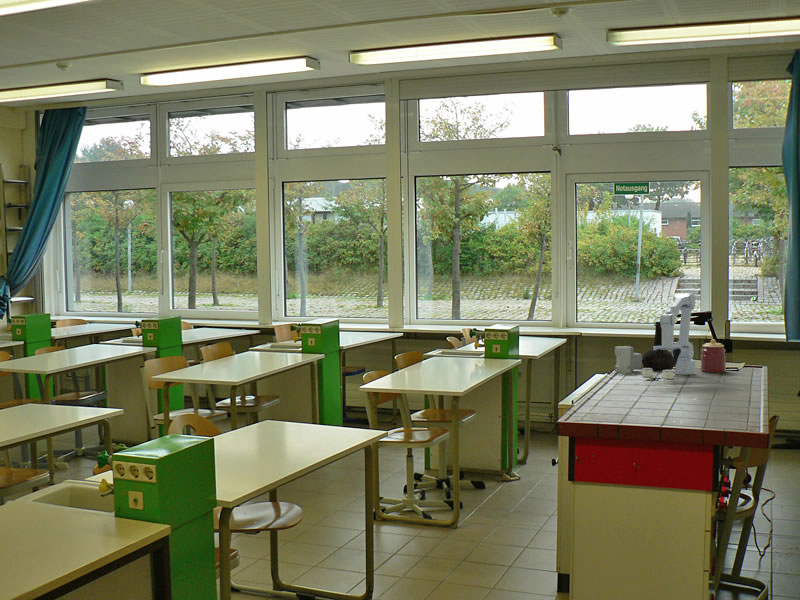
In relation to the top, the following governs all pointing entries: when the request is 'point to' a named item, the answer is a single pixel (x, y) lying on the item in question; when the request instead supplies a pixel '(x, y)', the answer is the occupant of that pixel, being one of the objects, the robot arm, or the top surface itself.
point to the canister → (713, 357)
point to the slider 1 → (647, 372)
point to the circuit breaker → (627, 359)
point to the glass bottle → (651, 356)
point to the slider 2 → (667, 374)
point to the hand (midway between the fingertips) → (667, 364)
